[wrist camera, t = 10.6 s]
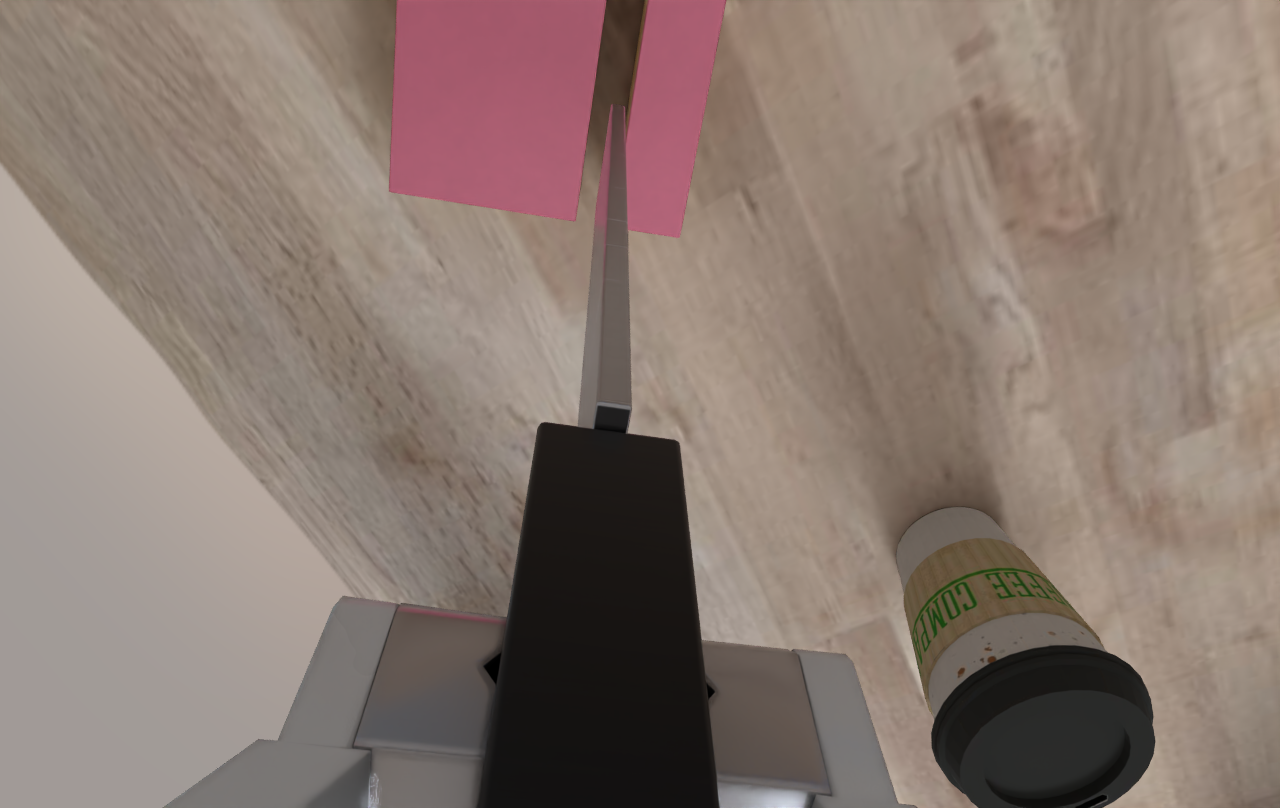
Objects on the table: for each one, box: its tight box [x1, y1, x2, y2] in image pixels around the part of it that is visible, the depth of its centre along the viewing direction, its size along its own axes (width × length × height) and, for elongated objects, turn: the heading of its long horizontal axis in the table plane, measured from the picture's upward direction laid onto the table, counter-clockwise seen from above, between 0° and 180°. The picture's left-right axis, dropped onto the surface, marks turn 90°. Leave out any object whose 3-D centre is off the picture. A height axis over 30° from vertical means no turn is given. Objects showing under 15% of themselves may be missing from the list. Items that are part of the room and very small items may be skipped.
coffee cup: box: [896, 507, 1155, 808], centre depth 47 cm, size 10×10×15 cm
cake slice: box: [625, 0, 726, 238], centre depth 39 cm, size 3×12×4 cm, turn 170°
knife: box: [477, 104, 720, 808], centre depth 16 cm, size 2×3×25 cm, turn 170°
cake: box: [389, 0, 607, 221], centre depth 38 cm, size 8×12×4 cm
